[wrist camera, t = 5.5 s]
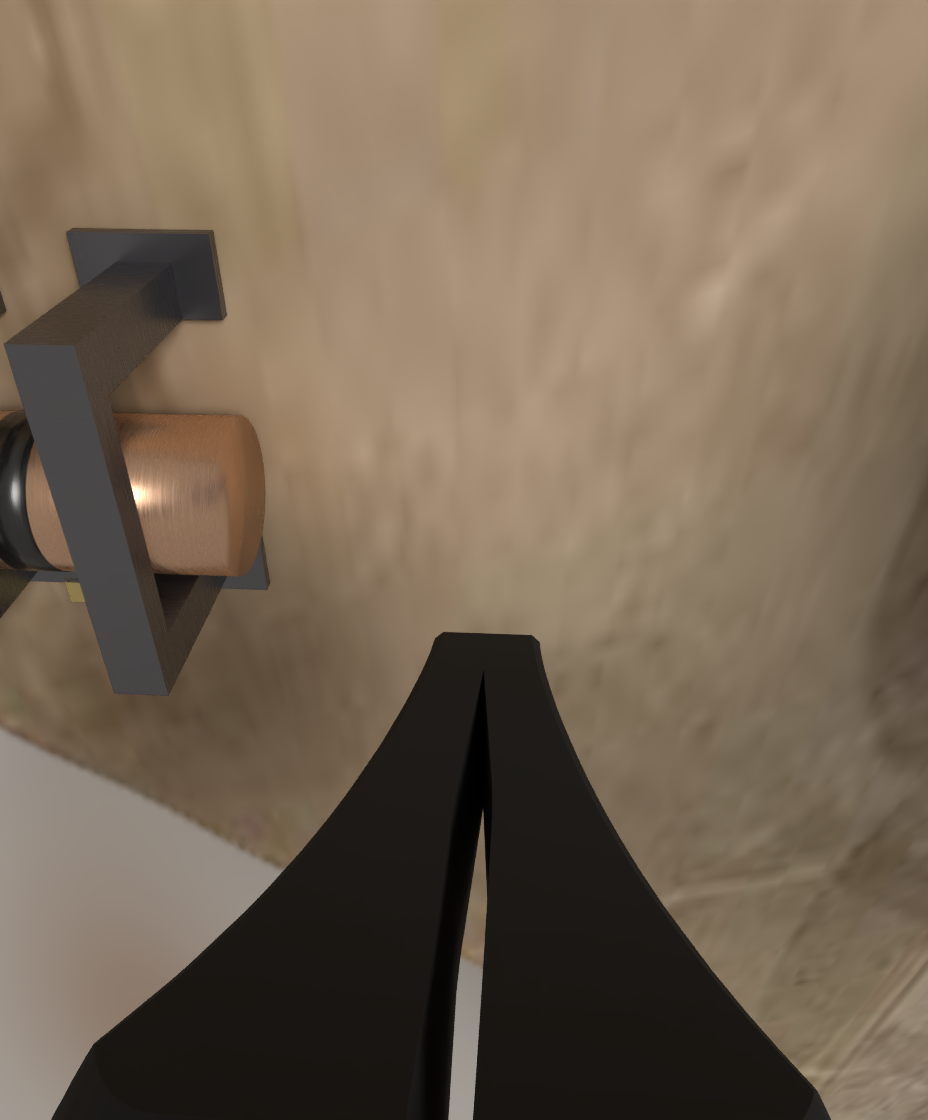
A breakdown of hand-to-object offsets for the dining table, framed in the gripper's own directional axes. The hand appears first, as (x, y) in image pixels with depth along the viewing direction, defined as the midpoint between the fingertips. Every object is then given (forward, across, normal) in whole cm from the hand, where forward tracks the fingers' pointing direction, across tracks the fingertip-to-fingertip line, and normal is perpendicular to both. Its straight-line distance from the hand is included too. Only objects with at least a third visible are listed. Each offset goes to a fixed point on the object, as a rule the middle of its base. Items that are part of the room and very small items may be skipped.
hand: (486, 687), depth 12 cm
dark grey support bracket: (+9, +8, +1) cm, 12 cm away
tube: (+9, +10, +1) cm, 14 cm away
